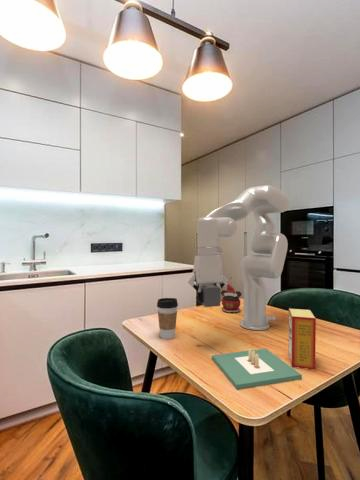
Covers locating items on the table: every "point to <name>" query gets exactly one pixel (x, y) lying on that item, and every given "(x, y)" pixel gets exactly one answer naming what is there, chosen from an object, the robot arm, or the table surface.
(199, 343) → the table surface
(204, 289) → the block
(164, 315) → the coffee cup
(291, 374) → the pin board
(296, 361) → the baking soda box
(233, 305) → the red christmas figurine
